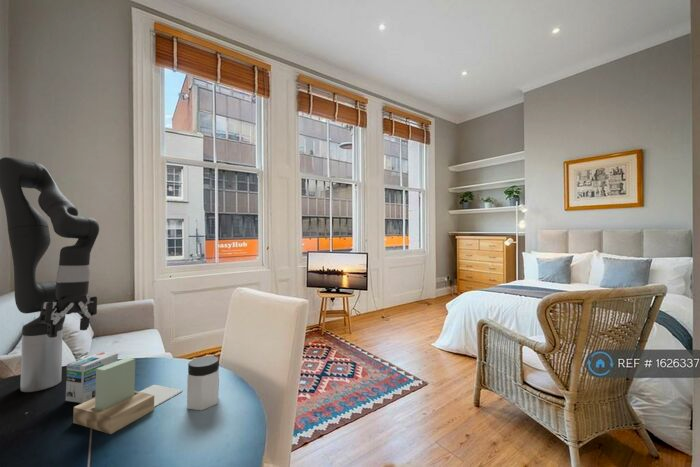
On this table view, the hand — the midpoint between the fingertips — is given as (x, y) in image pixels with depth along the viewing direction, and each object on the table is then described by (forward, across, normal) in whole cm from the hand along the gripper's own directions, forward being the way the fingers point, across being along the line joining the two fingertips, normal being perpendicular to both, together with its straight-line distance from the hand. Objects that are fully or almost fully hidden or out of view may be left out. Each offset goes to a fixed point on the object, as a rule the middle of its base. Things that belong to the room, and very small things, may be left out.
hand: (68, 333), depth 92 cm
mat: (+18, -6, +26) cm, 33 cm away
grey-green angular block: (+19, +5, +25) cm, 32 cm away
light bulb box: (+19, -3, +7) cm, 20 cm away
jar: (+18, -6, +44) cm, 48 cm away
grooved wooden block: (+19, +5, +25) cm, 32 cm away
